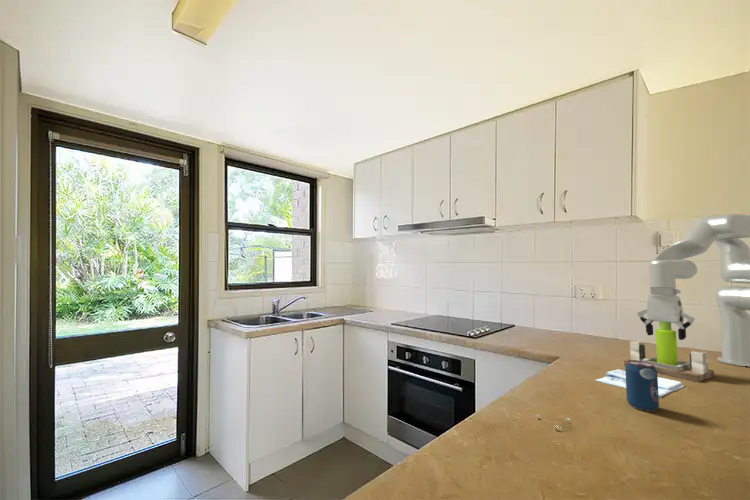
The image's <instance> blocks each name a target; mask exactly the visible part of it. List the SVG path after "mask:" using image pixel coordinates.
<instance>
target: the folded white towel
mask: <svg viewBox="0 0 750 500" xmlns="http://www.w3.org/2000/svg"><path fill="white" fill-rule="evenodd" d="M657 377H658V376H657ZM595 382H598V383H602V384H606V385H610V386H614V385H615V387H617V386H618V388H621V387H623V388H622V389H625V388H626V371H625V370H622V369H619V368H618V369H614V370H610V371H606V372H605V376H604V377H602V378H601V377H600V378H597V379H595ZM683 388H685V385H683V383H682V381H679V380H678V381H677V380H675V379H674V380H673V379H669V378H664V377H661V376H660V377H658V396H659V397H660V398H662V397H664V396H666V395H668V394H670V393H673V392H676V391H678V390H680V389H683ZM660 398H659V399H660Z"/></svg>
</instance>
